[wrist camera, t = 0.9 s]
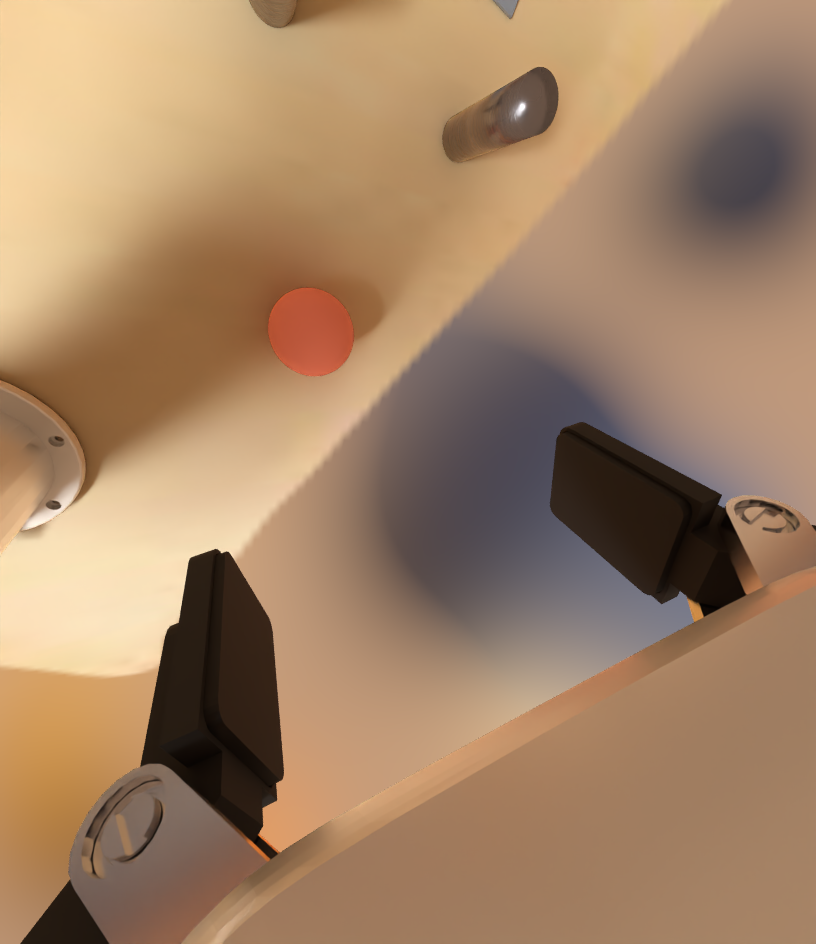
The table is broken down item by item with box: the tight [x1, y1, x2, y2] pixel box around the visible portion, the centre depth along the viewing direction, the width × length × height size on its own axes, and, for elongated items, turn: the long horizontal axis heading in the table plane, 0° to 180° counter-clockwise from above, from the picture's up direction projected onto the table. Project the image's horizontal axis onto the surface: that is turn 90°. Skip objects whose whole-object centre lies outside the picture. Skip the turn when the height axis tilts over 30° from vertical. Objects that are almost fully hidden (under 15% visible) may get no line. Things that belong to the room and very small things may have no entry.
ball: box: [268, 288, 354, 376], centre depth 27 cm, size 6×6×6 cm
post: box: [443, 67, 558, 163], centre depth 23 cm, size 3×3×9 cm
